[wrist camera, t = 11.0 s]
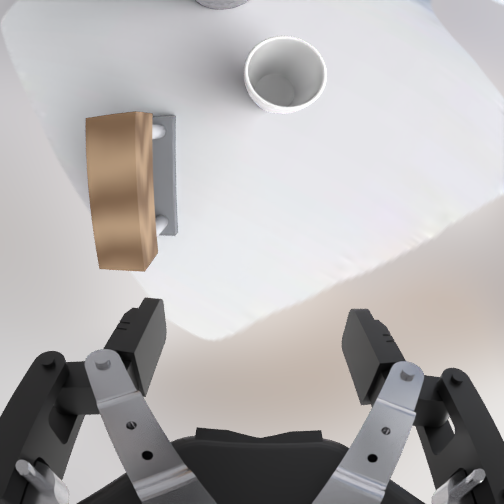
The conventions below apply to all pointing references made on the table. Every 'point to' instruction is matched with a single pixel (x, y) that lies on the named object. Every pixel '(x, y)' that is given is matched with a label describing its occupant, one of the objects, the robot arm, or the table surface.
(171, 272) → the table surface
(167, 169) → the peg stand
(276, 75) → the drinking glass
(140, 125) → the brown rectangular block
